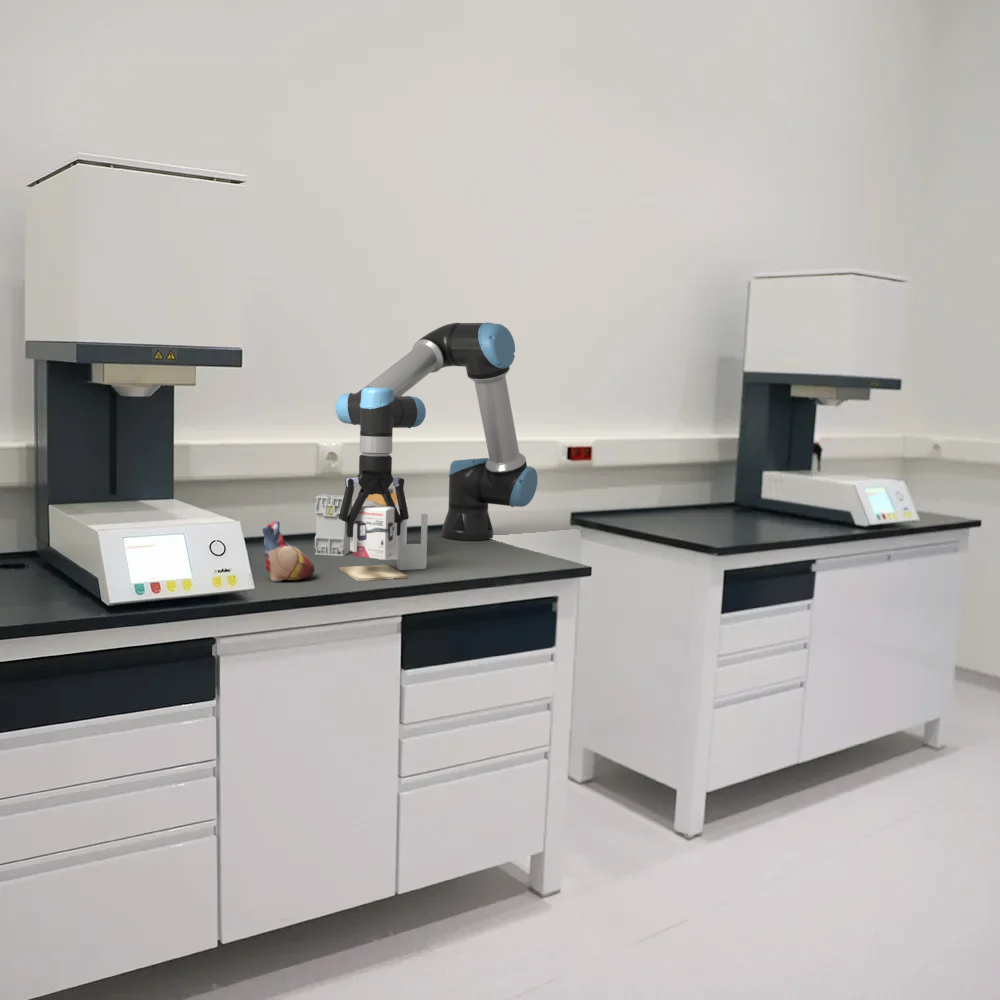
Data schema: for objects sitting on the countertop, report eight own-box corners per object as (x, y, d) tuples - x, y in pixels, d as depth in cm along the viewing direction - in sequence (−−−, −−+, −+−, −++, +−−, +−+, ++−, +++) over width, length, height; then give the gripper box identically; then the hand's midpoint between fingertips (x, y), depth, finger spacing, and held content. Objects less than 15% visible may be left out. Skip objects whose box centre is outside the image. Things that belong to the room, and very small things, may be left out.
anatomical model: (305, 589, 219) (283, 526, 215) (269, 594, 222) (247, 533, 218) (321, 570, 228) (301, 510, 224) (287, 576, 231) (266, 516, 226)
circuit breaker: (356, 547, 270) (357, 491, 268) (343, 556, 255) (344, 498, 254) (329, 545, 270) (330, 490, 268) (314, 554, 256) (315, 496, 254)
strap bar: (376, 497, 269) (376, 482, 268) (396, 505, 255) (396, 489, 255) (363, 497, 267) (364, 483, 267) (383, 505, 254) (383, 489, 253)
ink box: (351, 556, 232) (353, 506, 231) (361, 553, 237) (362, 504, 236) (385, 559, 230) (386, 509, 228) (394, 556, 235) (395, 506, 233)
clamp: (388, 550, 266) (389, 500, 265) (426, 568, 243) (427, 514, 241) (363, 551, 263) (364, 501, 262) (399, 570, 240) (400, 515, 238)
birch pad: (386, 567, 243) (386, 564, 243) (407, 578, 231) (407, 575, 230) (339, 569, 238) (339, 567, 238) (357, 581, 225) (357, 578, 225)
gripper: (413, 453, 239) (410, 545, 242) (325, 452, 229) (323, 549, 232) (425, 455, 232) (422, 551, 235) (335, 455, 222) (332, 554, 225)
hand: (373, 550), depth 233 cm, fingers closed on ink box, 9 cm apart
